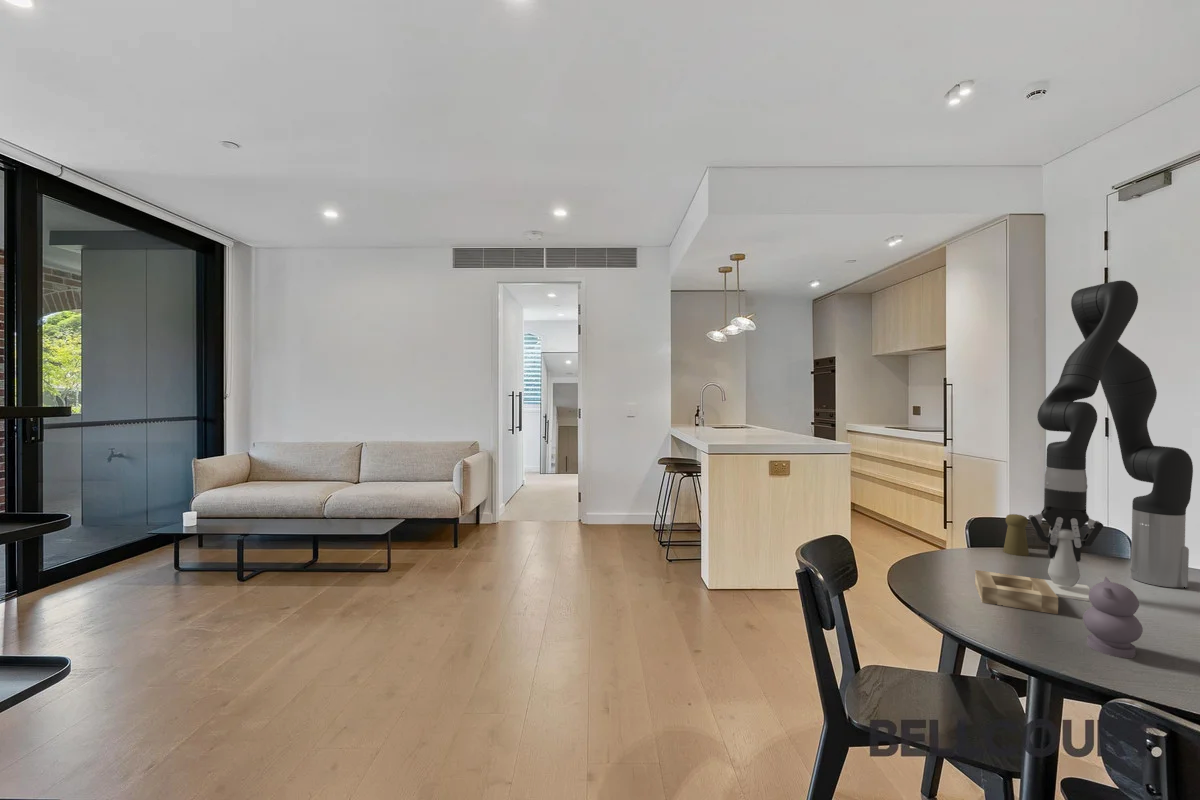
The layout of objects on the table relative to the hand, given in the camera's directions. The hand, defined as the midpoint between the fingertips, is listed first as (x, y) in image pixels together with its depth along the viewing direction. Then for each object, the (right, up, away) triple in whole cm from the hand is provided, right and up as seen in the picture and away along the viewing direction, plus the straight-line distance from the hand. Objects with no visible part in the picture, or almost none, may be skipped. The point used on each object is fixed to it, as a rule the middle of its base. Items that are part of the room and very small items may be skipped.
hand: (1063, 561), depth 129 cm
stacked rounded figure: (-16, -7, -30) cm, 35 cm away
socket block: (-16, -7, -5) cm, 18 cm away
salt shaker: (0, -5, 0) cm, 5 cm away
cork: (+12, -7, +31) cm, 34 cm away
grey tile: (0, -7, 0) cm, 7 cm away
